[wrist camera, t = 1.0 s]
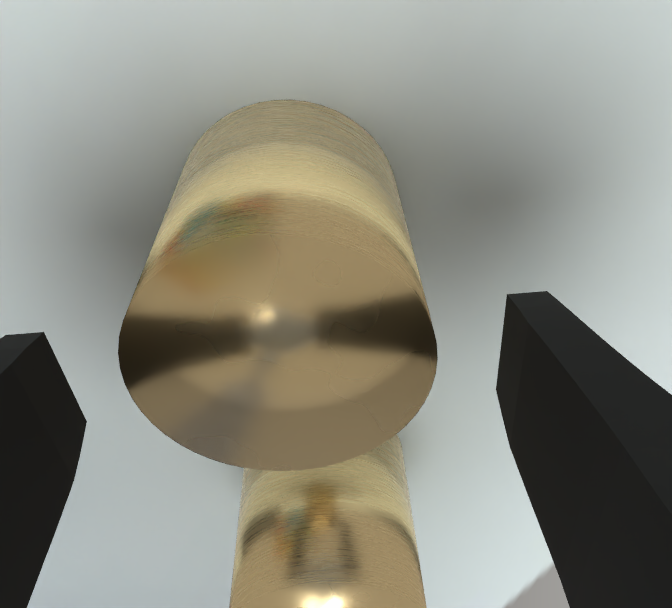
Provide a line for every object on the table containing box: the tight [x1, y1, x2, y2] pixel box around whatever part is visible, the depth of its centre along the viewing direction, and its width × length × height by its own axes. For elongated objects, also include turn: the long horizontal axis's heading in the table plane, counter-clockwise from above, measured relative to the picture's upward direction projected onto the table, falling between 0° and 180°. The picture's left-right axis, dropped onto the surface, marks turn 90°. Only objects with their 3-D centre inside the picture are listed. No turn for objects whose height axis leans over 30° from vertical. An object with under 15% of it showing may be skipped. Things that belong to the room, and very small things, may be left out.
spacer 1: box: [118, 100, 437, 471], centre depth 12 cm, size 5×5×6 cm
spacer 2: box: [229, 435, 426, 608], centre depth 17 cm, size 5×5×6 cm
